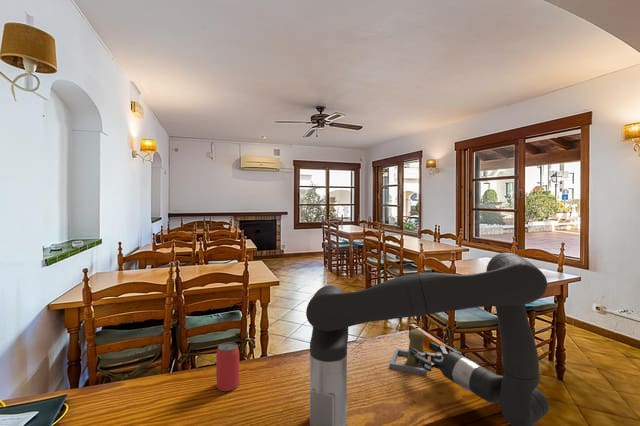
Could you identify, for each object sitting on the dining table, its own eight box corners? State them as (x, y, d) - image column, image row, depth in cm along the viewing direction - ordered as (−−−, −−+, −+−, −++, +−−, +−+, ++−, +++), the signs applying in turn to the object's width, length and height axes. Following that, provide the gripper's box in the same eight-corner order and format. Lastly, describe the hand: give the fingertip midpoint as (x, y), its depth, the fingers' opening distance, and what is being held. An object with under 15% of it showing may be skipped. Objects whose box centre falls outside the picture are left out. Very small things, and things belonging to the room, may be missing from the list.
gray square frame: (426, 375, 98) (426, 370, 98) (389, 367, 103) (389, 363, 103) (429, 358, 109) (429, 354, 109) (395, 352, 114) (396, 348, 113)
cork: (426, 368, 103) (426, 335, 102) (407, 366, 104) (407, 333, 104) (424, 359, 109) (424, 328, 108) (406, 357, 110) (406, 326, 110)
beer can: (211, 388, 92) (211, 348, 91) (227, 377, 97) (227, 339, 97) (228, 395, 89) (227, 353, 88) (244, 383, 94) (243, 344, 94)
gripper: (480, 352, 90) (436, 332, 105) (445, 364, 84) (403, 340, 98) (479, 378, 90) (436, 354, 105) (444, 391, 84) (403, 364, 98)
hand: (420, 347), depth 102 cm, fingers open, 8 cm apart
